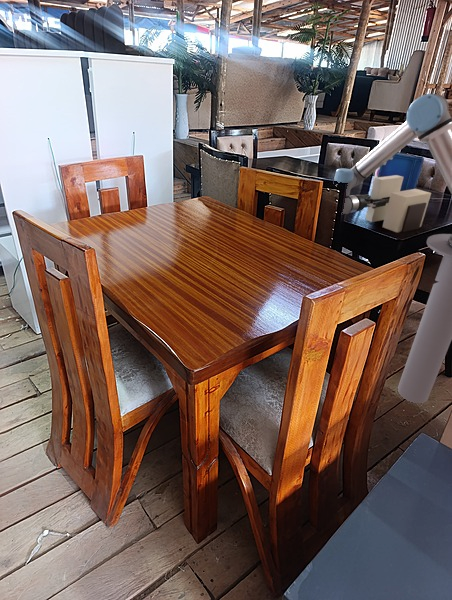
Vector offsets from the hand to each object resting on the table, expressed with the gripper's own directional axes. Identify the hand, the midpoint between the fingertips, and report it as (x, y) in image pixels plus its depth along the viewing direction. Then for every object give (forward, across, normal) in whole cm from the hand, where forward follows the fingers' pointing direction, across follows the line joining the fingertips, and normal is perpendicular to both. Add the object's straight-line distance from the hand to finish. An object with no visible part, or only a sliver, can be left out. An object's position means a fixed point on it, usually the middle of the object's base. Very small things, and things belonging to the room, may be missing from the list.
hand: (386, 198), depth 191 cm
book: (+36, -21, -10) cm, 43 cm away
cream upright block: (-2, +13, -10) cm, 17 cm away
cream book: (-2, 0, -10) cm, 10 cm away
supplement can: (+46, -39, -10) cm, 61 cm away
